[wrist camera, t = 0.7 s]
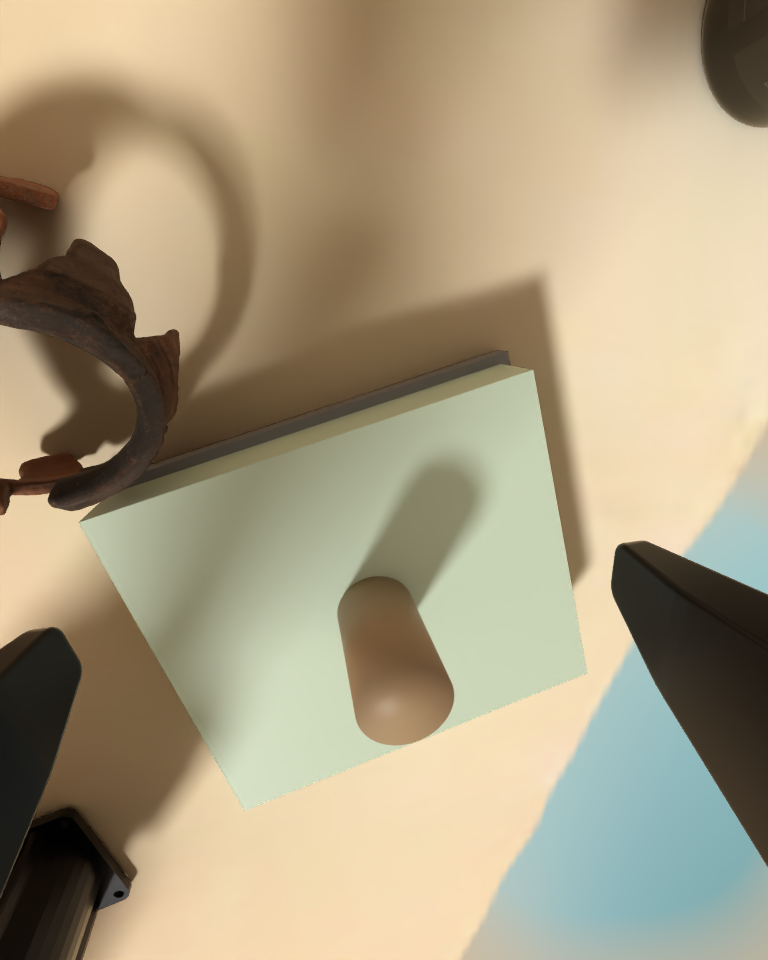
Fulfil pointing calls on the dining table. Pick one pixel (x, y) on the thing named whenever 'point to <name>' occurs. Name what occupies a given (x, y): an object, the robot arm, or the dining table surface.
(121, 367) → the pottery mug
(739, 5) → the supplement bottle
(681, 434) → the dining table surface
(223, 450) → the mat
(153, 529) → the lid
